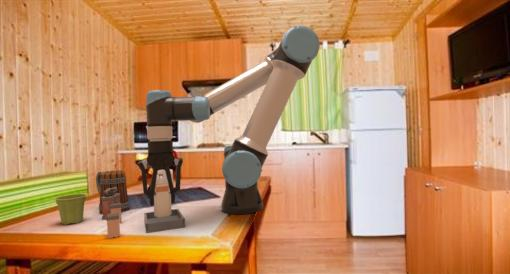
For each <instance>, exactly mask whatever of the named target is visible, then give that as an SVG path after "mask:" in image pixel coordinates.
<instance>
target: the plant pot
mask: <svg viewBox="0 0 510 274" xmlns="http://www.w3.org/2000/svg"><path fill="white" fill-rule="evenodd" d="M87 195H88V194H87V193H76V194H75V193H74V194H65V195H61V196H57V197H55V198H54V201H55V203H56V205H57V208H58V213H59V216H60V222H61V225H69V224H77V223H80V222H82V221H83V220H84V213H85V212H84V209H85V201H86V198H87Z"/></svg>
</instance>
